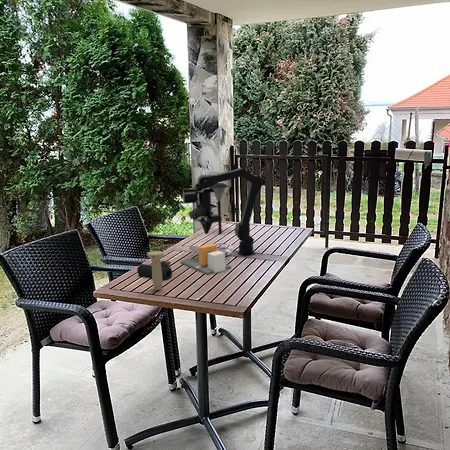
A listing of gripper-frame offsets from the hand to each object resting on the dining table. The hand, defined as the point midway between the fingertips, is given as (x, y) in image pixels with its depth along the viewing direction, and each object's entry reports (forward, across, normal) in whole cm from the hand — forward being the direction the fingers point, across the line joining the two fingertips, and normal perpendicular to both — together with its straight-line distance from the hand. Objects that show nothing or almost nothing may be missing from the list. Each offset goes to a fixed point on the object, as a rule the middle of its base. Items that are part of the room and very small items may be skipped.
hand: (206, 233), depth 215 cm
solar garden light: (+12, -35, +33) cm, 50 cm away
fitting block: (+12, +19, -8) cm, 24 cm away
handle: (+12, +22, -39) cm, 46 cm away
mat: (+12, +10, -8) cm, 18 cm away
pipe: (+7, +9, -8) cm, 14 cm away
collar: (+10, +12, -8) cm, 18 cm away
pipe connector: (+12, +6, -30) cm, 33 cm away
